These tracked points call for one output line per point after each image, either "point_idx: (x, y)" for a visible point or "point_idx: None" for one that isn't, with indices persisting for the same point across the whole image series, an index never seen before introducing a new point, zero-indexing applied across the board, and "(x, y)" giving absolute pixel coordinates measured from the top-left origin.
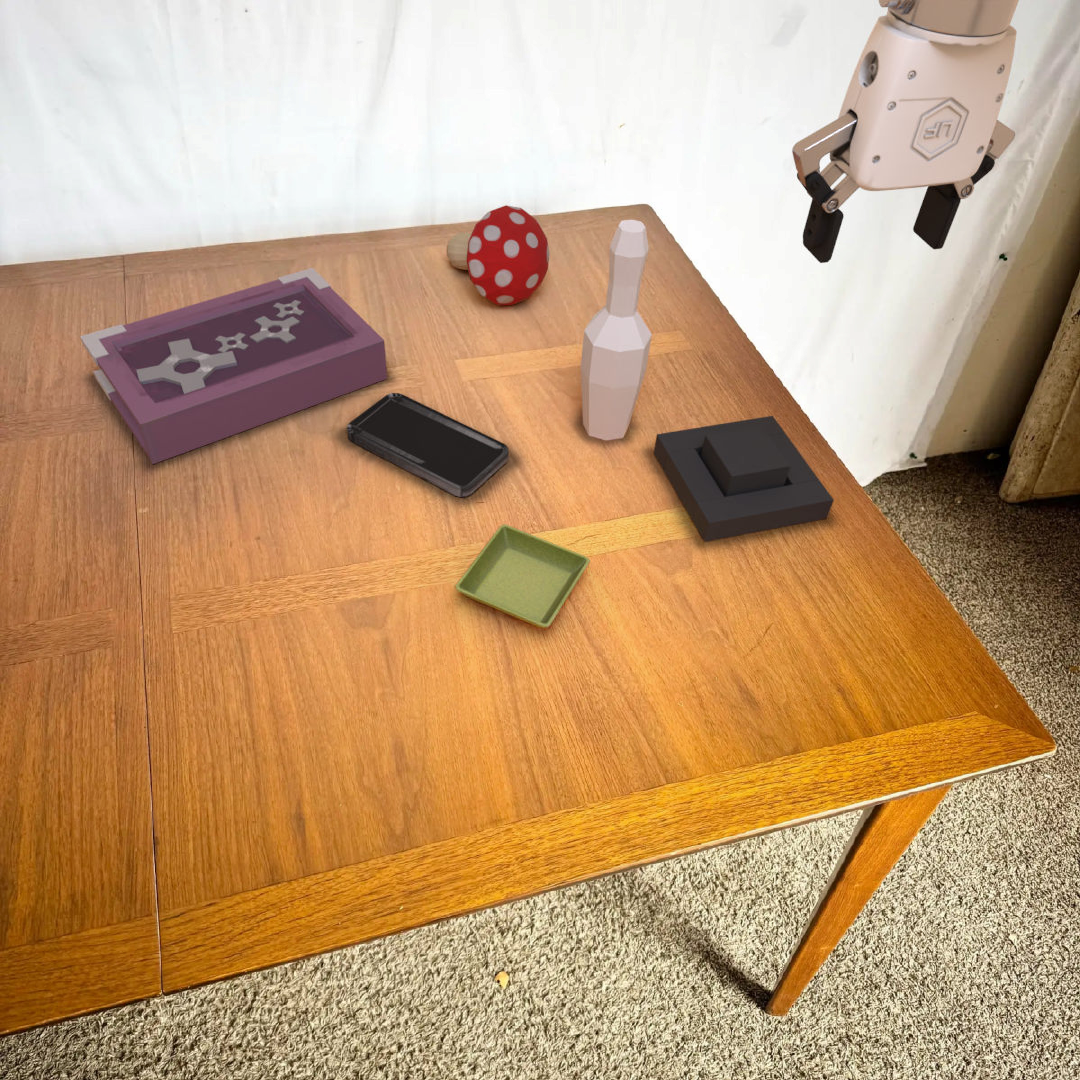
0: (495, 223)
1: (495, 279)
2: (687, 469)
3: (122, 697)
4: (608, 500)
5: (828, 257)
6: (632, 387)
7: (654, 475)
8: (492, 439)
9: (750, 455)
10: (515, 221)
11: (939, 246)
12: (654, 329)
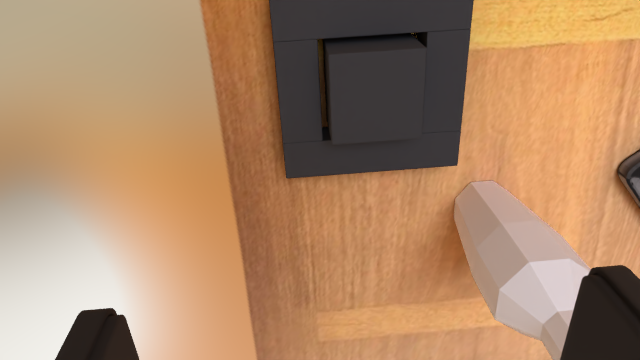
0: None
1: None
2: (451, 94)
3: None
4: (542, 79)
5: (616, 278)
6: (508, 221)
7: (464, 113)
8: (635, 191)
9: (378, 86)
10: None
11: (95, 314)
12: (348, 345)
